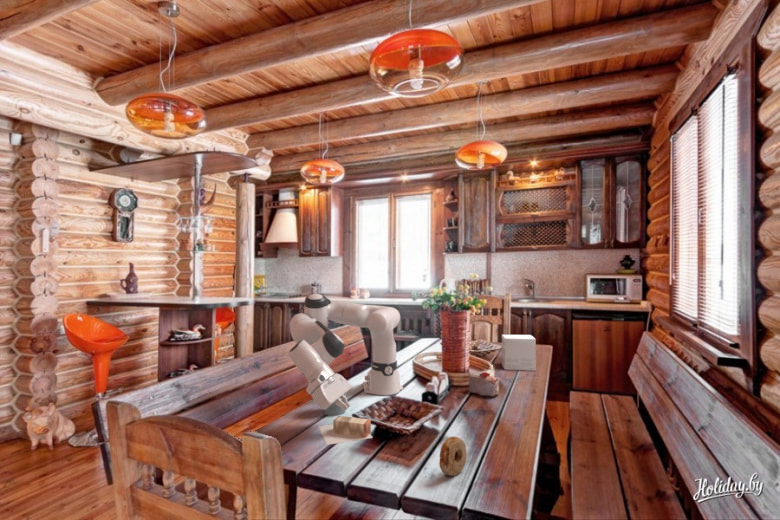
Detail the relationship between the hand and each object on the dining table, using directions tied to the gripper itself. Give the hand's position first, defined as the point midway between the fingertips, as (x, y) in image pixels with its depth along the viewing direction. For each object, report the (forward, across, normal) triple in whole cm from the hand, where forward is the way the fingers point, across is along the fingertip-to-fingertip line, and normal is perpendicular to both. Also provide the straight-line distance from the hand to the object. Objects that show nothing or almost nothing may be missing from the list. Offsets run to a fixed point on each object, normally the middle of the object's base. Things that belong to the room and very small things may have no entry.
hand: (347, 408), depth 145 cm
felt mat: (+6, 0, -7) cm, 9 cm away
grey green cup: (-2, -17, -15) cm, 23 cm away
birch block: (+1, 0, -8) cm, 8 cm away
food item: (+37, -59, +25) cm, 74 cm away
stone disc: (+34, +16, +22) cm, 44 cm away
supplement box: (+48, -112, +36) cm, 128 cm away
